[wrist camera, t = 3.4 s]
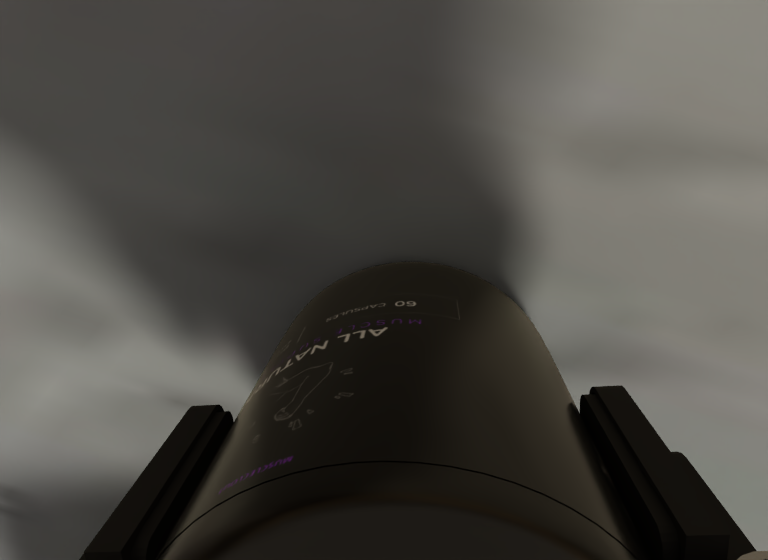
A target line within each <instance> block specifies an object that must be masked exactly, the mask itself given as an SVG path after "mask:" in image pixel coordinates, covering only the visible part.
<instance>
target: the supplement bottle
mask: <svg viewBox="0 0 768 560" xmlns="http://www.w3.org/2000/svg"><path fill="white" fill-rule="evenodd" d="M155 560H651V559H650V557H649V555H648V553H647V551H646V549H645V547H644V545H643V543H642V541H641V539H640V537H639V535H638V533H637V530H636V528H635V526H634V524H633V522H632V520H631V518H630V516H629V514H628V512H627V510H626V508H625V506H624V504H623V502H622V500H621V498H620V496H619V494H618V491H617V489H616V487H615V485H614V483H613V481H612V479H611V477H610V475H609V473H608V471H607V469H606V467H605V465H604V463H603V461H602V459H601V457H600V455H599V452H598V450H597V448H596V446H595V444H594V442H593V440H592V438H591V436H590V434H589V432H588V430H587V428H586V426H585V424H584V422H583V420H582V418H581V416H580V414H579V411H578V409H577V407H576V405H575V403H574V401H573V399H572V397H571V395H570V393H569V391H568V389H567V387H566V385H565V383H564V381H563V379H562V377H561V375H560V372H559V370H558V368H557V366H556V364H555V362H554V360H553V358H552V356H551V354H550V352H549V350H548V349H547V347H546V345H545V343H544V341H543V339H542V337H541V335H540V334H539V332H538V331H537V329H536V328H535V326H534V324H533V323H532V322H531V320H530V319H529V318H528V317H527V315H526V314H525V313H524V312H523V310H522V309H521V308H520V307H519V306H518V305H517V304H516V303H515V302H514V301H513V300H512V299H511V298H510V297H508V296H507V295H506V294H505V293H503V292H502V291H501V290H499V289H498V288H496V287H495V286H493V285H492V284H490V283H489V282H487V281H485V280H483V279H481V278H479V277H478V276H475V275H473V274H470V273H468V272H466V271H463V270H460V269H457V268H453V267H450V266H445V265H440V264H436V263H426V262H396V263H388V264H382V265H377V266H373V267H370V268H366V269H363V270H360V271H358V272H355V273H352V274H350V275H348V276H346V277H344V278H342V279H340V280H338V281H336V282H335V283H333V284H332V285H330V286H328V287H327V288H326V289H324V290H323V291H322V292H320V293H319V294H318V295H317V296H316V297H315V298H313V299H312V300H311V301H310V302H309V303H308V304H307V305H306V306H305V308H304V309H303V310H302V311H301V312H300V314H299V315H298V316H297V317H296V318H295V320H294V321H293V323H292V324H291V326H290V327H289V329H288V330H287V332H286V334H285V335H284V337H283V339H282V340H281V342H280V343H279V345H278V346H277V348H276V350H275V352H274V353H273V355H272V357H271V359H270V360H269V362H268V364H267V366H266V367H265V369H264V371H263V372H262V374H261V376H260V378H259V379H258V381H257V383H256V385H255V386H254V388H253V390H252V392H251V393H250V395H249V397H248V399H247V400H246V402H245V404H244V406H243V407H242V409H241V411H240V413H239V414H238V416H237V418H236V419H235V421H234V423H233V425H232V426H231V428H230V430H229V432H228V433H227V435H226V437H225V439H224V440H223V442H222V444H221V446H220V447H219V449H218V451H217V453H216V454H215V456H214V458H213V460H212V461H211V463H210V465H209V467H208V468H207V470H206V472H205V473H204V475H203V477H202V479H201V480H200V482H199V484H198V486H197V487H196V489H195V491H194V493H193V494H192V496H191V498H190V500H189V501H188V503H187V505H186V507H185V508H184V510H183V512H182V514H181V515H180V517H179V519H178V520H177V522H176V524H175V526H174V527H173V529H172V531H171V533H170V534H169V536H168V538H167V540H166V541H165V543H164V545H163V547H162V548H161V550H160V552H159V554H158V555H157V557H156V559H155Z"/></svg>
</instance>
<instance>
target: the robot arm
mask: <svg viewBox="0 0 768 560" xmlns="http://www.w3.org/2000/svg"><path fill="white" fill-rule="evenodd" d="M580 416H581V418H582V420H583V422H584V424H585V426H586V428H587V430H588V432H589V434H590V436H591V438H592V440H593V442H594V444H595V446H596V448H597V450H598V452H599V455H600V457H601V459H602V461H603V463H604V465H605V467H606V469H607V471H608V473H609V475H610V477H611V479H612V481H613V483H614V485H615V487H616V489H617V491H618V494H619V496H620V498H621V500H622V502H623V504H624V506H625V508H626V510H627V512H628V514H629V516H630V518H631V520H632V522H633V524H634V526H635V528H636V530H637V533H638V535H639V537H640V539H641V541H642V543H643V545H644V547H645V549H646V551H647V553H648V555H649V557H650V559H651V560H768V551H756V549H755V548H754V547H753V546H752V544H751V543H750V542H749V540H748V539H747V538H746V536H745V535H744V534H743V532H742V531H741V530H740V528H739V527H738V526H737V524H736V523H735V522H734V520H733V519H732V518H731V516H730V515H729V514H728V512H727V511H726V510H725V508H724V507H723V506H722V504H721V503H720V502H719V500H718V499H717V498H716V496H715V495H714V494H713V492H712V491H711V490H710V488H709V487H708V486H707V484H706V483H705V482H704V480H703V479H702V478H701V476H700V475H699V474H698V472H697V471H696V470H695V469H694V467H693V466H692V465H691V463H690V462H689V461H688V459H687V458H686V457H685V456H684V455H683V454H682V453H680V452H670V450H669V449H668V448H667V446H666V445H665V444H664V442H663V441H662V439H661V438H660V437H659V435H658V434H657V432H656V431H655V430H654V428H653V427H652V425H651V424H650V423H649V421H648V420H647V419H646V417H645V416H644V414H643V413H642V412H641V410H640V409H639V407H638V406H637V405H636V403H635V402H634V401H633V399H632V398H631V396H630V395H629V394H628V392H627V391H626V389H625V388H624V387H623V386H602V387H592V388H591V389H590V393H589V395H582V396H581V399H580ZM233 423H234V422H233V417H232V414H231V413H230V412H229V411H226V412H224V410H223V408H222V406H220V405H204V406H192V407H190V408H189V410H188V411H187V412H186V414H185V415H184V416H183V418H182V419H181V420H180V422H179V423H178V425H177V426H176V427H175V429H174V430H173V431H172V433H171V434H170V435H169V437H168V438H167V440H166V441H165V442H164V444H163V445H162V446H161V448H160V449H159V450H158V452H157V453H156V455H155V456H154V457H153V459H152V460H151V461H150V463H149V464H148V465H147V467H146V468H145V470H144V471H143V472H142V474H141V475H140V476H139V478H138V479H137V481H136V482H135V483H134V485H133V486H132V487H131V489H130V490H129V491H128V493H127V494H126V496H125V497H124V498H123V500H122V501H121V502H120V504H119V505H118V506H117V508H116V509H115V511H114V512H113V513H112V515H111V516H110V517H109V519H108V520H107V521H106V523H105V524H104V526H103V527H102V528H101V530H100V531H99V532H98V534H97V535H96V536H95V538H94V539H93V541H92V542H91V543H90V545H89V546H88V547H87V549H86V550H85V551H84V554H83V555H82V557H81V558H80V559H79V560H155V559H156V557H157V555H158V554H159V552H160V550H161V548H162V547H163V545H164V543H165V541H166V540H167V538H168V536H169V534H170V533H171V531H172V529H173V527H174V526H175V524H176V522H177V520H178V519H179V517H180V515H181V514H182V512H183V510H184V508H185V507H186V505H187V503H188V501H189V500H190V498H191V496H192V494H193V493H194V491H195V489H196V487H197V486H198V484H199V482H200V480H201V479H202V477H203V475H204V473H205V472H206V470H207V468H208V467H209V465H210V463H211V461H212V460H213V458H214V456H215V454H216V453H217V451H218V449H219V447H220V446H221V444H222V442H223V440H224V439H225V437H226V435H227V433H228V432H229V430H230V428H231V426H232V425H233Z"/></svg>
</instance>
